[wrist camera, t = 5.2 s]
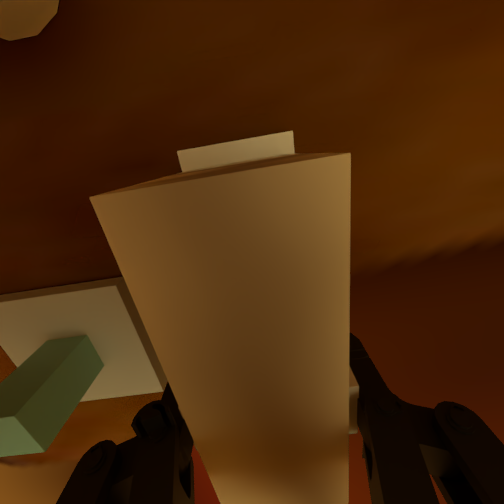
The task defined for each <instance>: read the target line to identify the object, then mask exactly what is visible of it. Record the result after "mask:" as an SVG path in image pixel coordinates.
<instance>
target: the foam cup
mask: <svg viewBox="0 0 504 504" xmlns="http://www.w3.org/2000/svg"><path fill="white" fill-rule="evenodd" d="M58 4H59V0H0V38H2V39H5V40H8V41H12V40H17V39H21V38H26V37H31V36H36V35H38V34H39V33H40V32H41V31H42V29H43V28H44V27H45V26H46V25H47V24H48V23H49V21H50V20H51V19H52V18H53V17H54V16H55V14H56V13H57V10H58Z"/></svg>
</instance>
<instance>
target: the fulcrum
mask: <svg viewBox="0 0 504 504" xmlns="http://www.w3.org/2000/svg"><path fill="white" fill-rule="evenodd" d="M0 346H1V347H2V348H3V350H4V351H5V352H6V353H7V355H8V356H9V357H10V359H11V360H12V361H13V363H14V364H15V365H16V366H17V369H15V370H14V371H13V372H12V373H11V374H10V375H9V376H8V377H7V378H6V379H5V380H4V381H2V382H1V383H0V457H3V456H13V455H22V454H31V453H40V452H45V451H46V450H47V449H48V447H49V446H50V444H51V443H52V441H53V440H54V438H55V437H56V435H57V434H58V432H59V431H60V430H61V428H62V427H63V425H64V424H65V422H66V421H67V419H68V418H69V416H70V415H71V414H72V412H73V411H74V409H75V408H76V406H77V405H78V403H79V402H80V401H88V400H97V399H105V398H113V397H121V396H130V395H138V394H146V393H154V392H162V391H164V389H165V386H166V383H167V378H166V375H165V373H164V371H163V368H162V366H161V364H160V361H159V359H158V357H157V354H156V352H155V350H154V347H153V345H152V343H151V340H150V338H149V336H148V333H147V331H146V329H145V326H144V324H143V322H142V319H141V317H140V315H139V312H138V310H137V308H136V305H135V303H134V301H133V298H132V296H131V294H130V291H129V289H128V287H127V284H126V282H125V280H124V277H117V278H110V279H103V280H97V281H90V282H83V283H77V284H70V285H63V286H57V287H50V288H43V289H37V290H30V291H23V292H17V293H10V294H3V295H0Z"/></svg>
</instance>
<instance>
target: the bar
mask: <svg viewBox="0 0 504 504" xmlns="http://www.w3.org/2000/svg"><path fill="white" fill-rule="evenodd" d="M350 190H351V153H297V154H291V155H286V156H280V157H274V158H268V159H262V160H257V161H251V162H245V163H239V164H233V165H227V166H222V167H216V168H210V169H204V170H198V171H192V172H187V173H181V174H175V175H170V176H166V177H162V178H158V179H155V180H151V181H147V182H144V183H140V184H136V185H132V186H129V187H125V188H121V189H118V190H114V191H110V192H106V193H103V194H99V195H95V196H92V197H89V198H90V201H91V203H92V205H93V208H94V210H95V212H96V215H97V217H98V219H99V222H100V224H101V226H102V229H103V231H104V233H105V236H106V238H107V240H108V243H109V245H110V247H111V250H112V252H113V254H114V257H115V259H116V261H117V264H118V266H119V268H120V271H121V273H122V275H123V277H124V280H125V282H126V284H127V287H128V289H129V291H130V294H131V296H132V298H133V301H134V303H135V305H136V308H137V310H138V312H139V315H140V317H141V319H142V322H143V324H144V326H145V329H146V331H147V333H148V336H149V338H150V340H151V343H152V345H153V347H154V350H155V352H156V354H157V357H158V359H159V361H160V364H161V366H162V368H163V371H164V373H165V375H166V378H167V380H168V382H169V385H170V387H171V389H172V392H173V394H174V396H175V399H176V401H177V403H178V406H179V408H180V410H181V413H182V415H183V417H184V419H185V422H186V424H187V426H188V429H189V431H190V433H191V436H192V438H193V440H194V443H195V445H196V447H197V450H198V452H199V454H200V457H201V459H202V461H203V464H204V466H205V468H206V471H207V473H208V475H209V478H210V480H211V482H212V484H213V487H214V489H215V491H216V494H217V496H218V498H219V501H220V503H221V504H348V473H349V472H348V471H349V469H348V467H349V333H350V332H349V329H350V328H349V327H350V325H349V323H350Z"/></svg>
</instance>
